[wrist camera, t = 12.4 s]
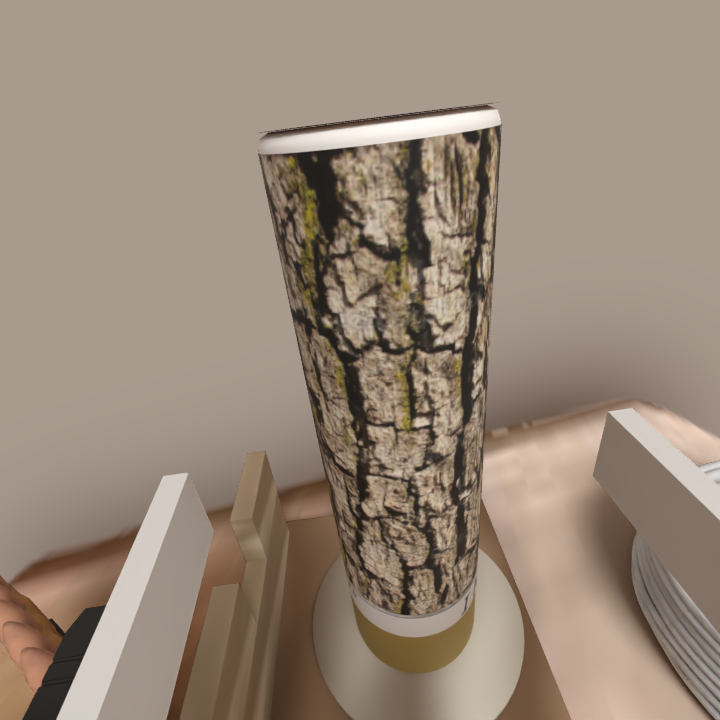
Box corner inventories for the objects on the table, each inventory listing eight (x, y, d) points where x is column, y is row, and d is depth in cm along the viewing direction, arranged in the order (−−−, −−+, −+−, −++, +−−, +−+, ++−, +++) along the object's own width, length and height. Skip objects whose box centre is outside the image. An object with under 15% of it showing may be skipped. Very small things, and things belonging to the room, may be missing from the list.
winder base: (233, 847, 18) (160, 770, 13) (275, 533, 32) (246, 443, 27) (595, 801, 18) (645, 709, 13) (480, 507, 32) (485, 413, 27)
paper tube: (368, 696, 21) (247, 133, 8) (347, 572, 27) (257, 133, 14) (496, 661, 21) (559, 94, 9) (447, 547, 27) (446, 109, 15)
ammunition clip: (195, 790, 20) (86, 669, 14) (161, 839, 19) (24, 729, 13) (88, 660, 25) (-22, 534, 19) (57, 690, 24) (-72, 566, 18)
